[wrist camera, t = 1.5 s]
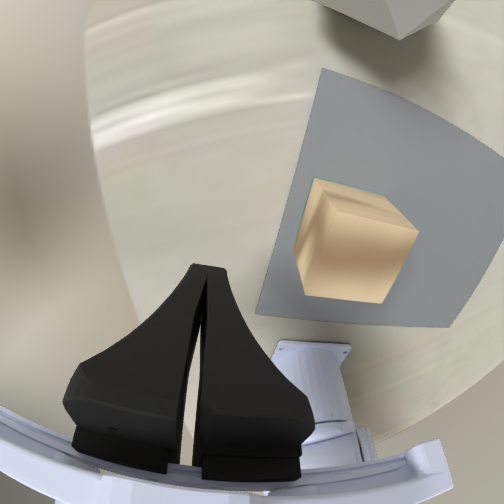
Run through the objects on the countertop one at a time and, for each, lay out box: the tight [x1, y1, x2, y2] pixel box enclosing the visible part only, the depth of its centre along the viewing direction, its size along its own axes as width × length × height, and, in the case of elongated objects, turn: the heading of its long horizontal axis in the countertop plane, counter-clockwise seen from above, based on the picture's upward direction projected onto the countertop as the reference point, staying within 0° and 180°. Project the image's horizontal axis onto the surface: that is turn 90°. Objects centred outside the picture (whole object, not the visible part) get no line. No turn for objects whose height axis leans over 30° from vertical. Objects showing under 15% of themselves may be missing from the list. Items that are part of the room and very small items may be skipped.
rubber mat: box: [255, 68, 504, 328], centre depth 22 cm, size 20×24×1 cm
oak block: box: [292, 177, 419, 304], centre depth 18 cm, size 6×6×6 cm
